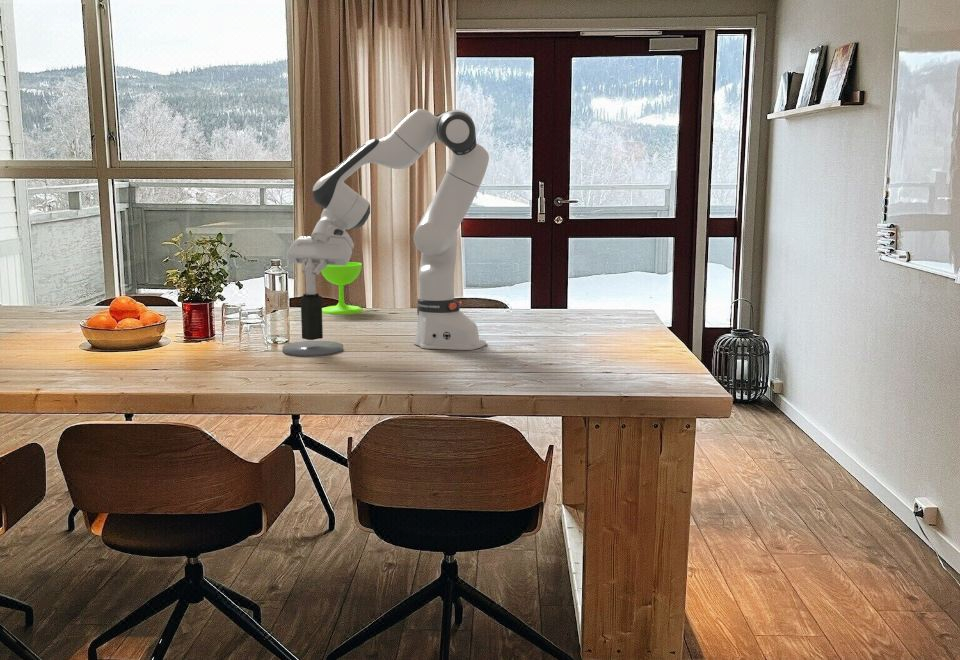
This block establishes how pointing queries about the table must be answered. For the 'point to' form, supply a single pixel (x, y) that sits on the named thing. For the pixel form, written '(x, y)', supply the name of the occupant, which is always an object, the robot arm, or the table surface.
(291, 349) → the slate plate
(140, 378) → the table surface
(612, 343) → the table surface
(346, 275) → the wineglass
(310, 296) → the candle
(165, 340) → the table surface
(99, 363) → the table surface
